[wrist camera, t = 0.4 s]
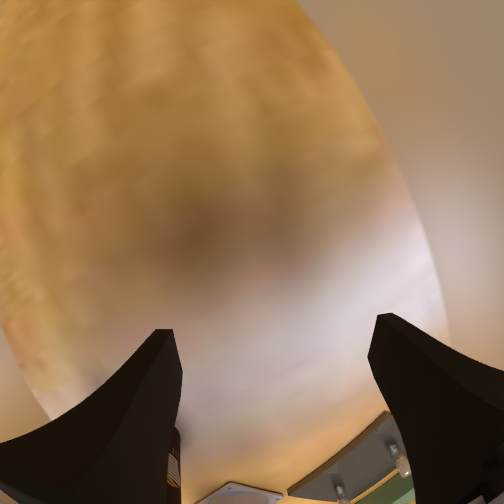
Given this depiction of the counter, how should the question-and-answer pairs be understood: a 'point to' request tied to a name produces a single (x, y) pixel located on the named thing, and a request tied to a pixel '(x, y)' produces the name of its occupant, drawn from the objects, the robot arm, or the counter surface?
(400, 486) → the green block with holes
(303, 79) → the counter surface
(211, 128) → the counter surface
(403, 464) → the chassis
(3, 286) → the counter surface
